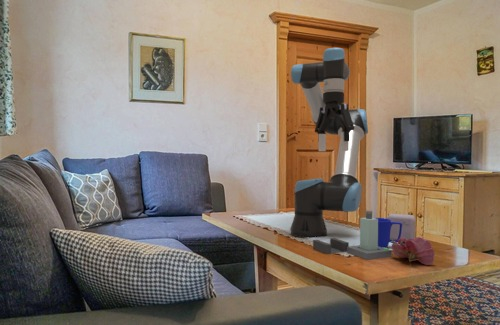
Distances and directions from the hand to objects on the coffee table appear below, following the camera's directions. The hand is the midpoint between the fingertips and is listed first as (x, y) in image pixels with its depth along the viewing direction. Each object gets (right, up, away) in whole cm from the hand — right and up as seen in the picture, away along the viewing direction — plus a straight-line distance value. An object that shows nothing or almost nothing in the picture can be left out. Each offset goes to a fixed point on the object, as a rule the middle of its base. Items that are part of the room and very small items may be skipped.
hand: (333, 151), depth 142 cm
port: (+9, -35, -13) cm, 38 cm away
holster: (-2, -35, -7) cm, 36 cm away
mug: (+19, -35, 0) cm, 40 cm away
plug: (+9, -35, -13) cm, 38 cm away
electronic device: (+29, -35, +12) cm, 47 cm away
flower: (+20, -36, -20) cm, 46 cm away
